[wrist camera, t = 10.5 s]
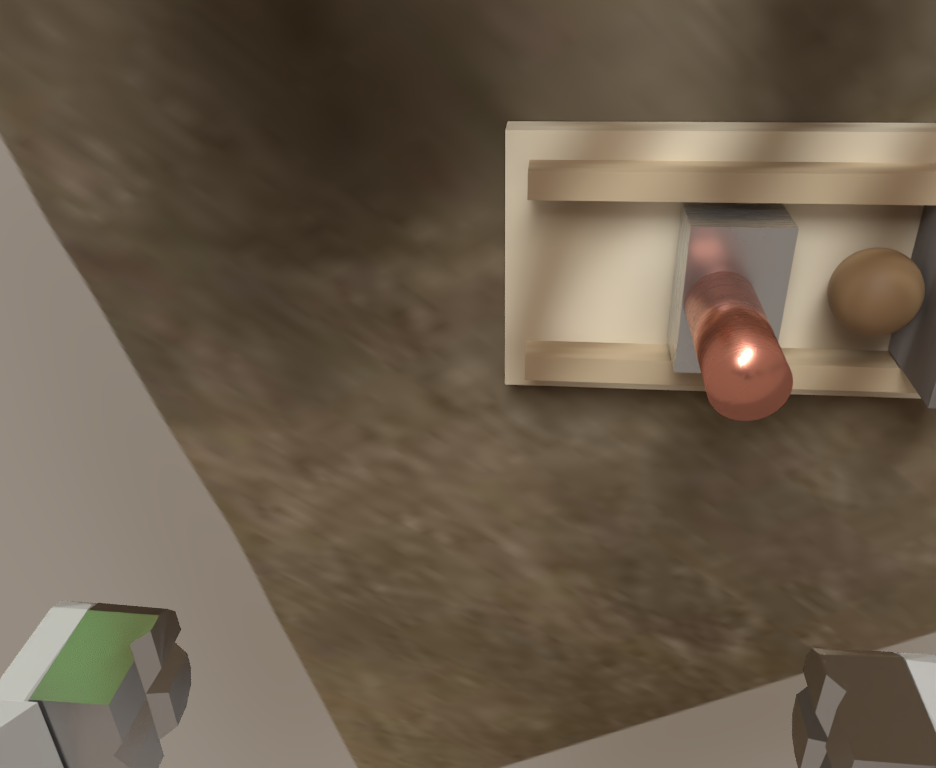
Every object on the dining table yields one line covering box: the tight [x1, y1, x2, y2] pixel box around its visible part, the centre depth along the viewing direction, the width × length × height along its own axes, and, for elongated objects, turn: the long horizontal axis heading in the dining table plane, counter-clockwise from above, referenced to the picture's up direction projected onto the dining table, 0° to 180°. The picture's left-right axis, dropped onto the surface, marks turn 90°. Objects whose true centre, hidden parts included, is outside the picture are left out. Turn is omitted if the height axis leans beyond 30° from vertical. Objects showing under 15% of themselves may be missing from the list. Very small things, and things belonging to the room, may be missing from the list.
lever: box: [667, 202, 799, 421], centre depth 33 cm, size 4×6×10 cm, turn 1°
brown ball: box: [827, 247, 925, 336], centre depth 35 cm, size 4×4×4 cm
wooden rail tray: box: [505, 121, 936, 408], centre depth 36 cm, size 20×12×6 cm, turn 91°
